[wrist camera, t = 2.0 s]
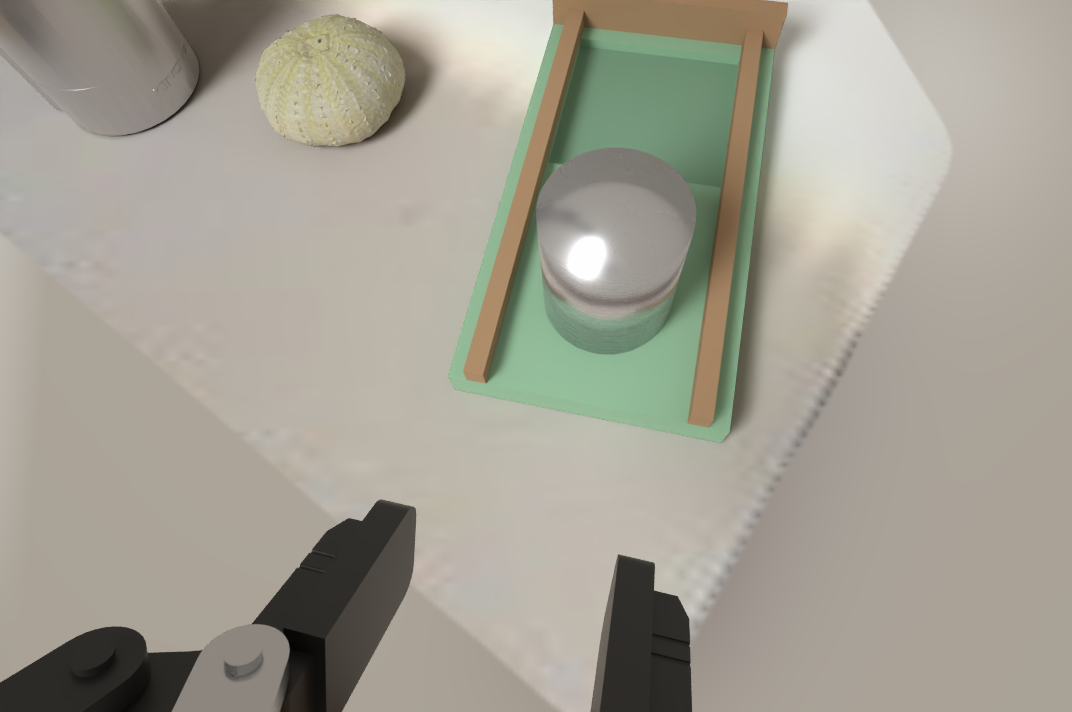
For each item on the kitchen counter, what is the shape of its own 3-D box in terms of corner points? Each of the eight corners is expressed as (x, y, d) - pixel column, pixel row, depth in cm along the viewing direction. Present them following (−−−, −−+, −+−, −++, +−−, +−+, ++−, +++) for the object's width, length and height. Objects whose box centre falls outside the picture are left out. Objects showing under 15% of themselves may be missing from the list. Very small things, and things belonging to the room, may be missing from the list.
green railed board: (454, 389, 34) (438, 357, 30) (557, 38, 43) (555, -22, 39) (720, 443, 32) (742, 416, 28) (767, 63, 41) (787, 2, 37)
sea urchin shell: (237, 54, 42) (285, -50, 37) (348, 97, 47) (402, 10, 43) (253, 158, 38) (309, 57, 33) (370, 191, 44) (432, 109, 39)
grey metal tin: (531, 341, 32) (519, 265, 25) (558, 234, 35) (554, 138, 28) (660, 365, 31) (684, 293, 25) (679, 253, 34) (705, 159, 27)
